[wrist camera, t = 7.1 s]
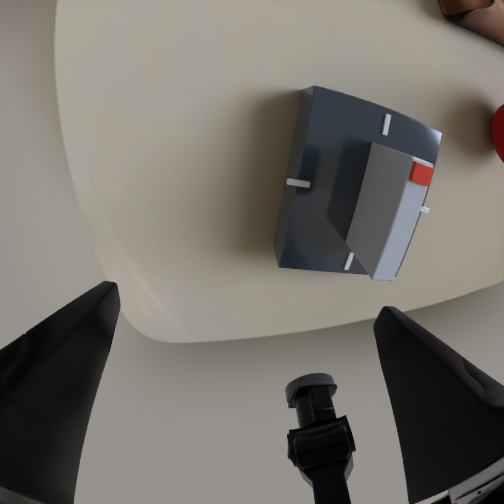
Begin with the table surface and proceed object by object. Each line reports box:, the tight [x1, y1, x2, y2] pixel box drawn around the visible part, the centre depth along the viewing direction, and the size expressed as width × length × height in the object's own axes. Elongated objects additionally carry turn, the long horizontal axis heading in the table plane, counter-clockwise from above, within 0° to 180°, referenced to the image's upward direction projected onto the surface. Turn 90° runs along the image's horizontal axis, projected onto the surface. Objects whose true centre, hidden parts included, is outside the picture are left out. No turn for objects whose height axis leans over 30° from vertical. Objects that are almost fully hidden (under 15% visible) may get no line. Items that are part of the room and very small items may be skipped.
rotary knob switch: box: [273, 86, 442, 277], centre depth 17 cm, size 12×11×3 cm
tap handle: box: [346, 142, 434, 281], centre depth 14 cm, size 7×2×5 cm, turn 172°
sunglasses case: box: [438, 0, 504, 46], centre depth 8 cm, size 18×7×7 cm, turn 101°
